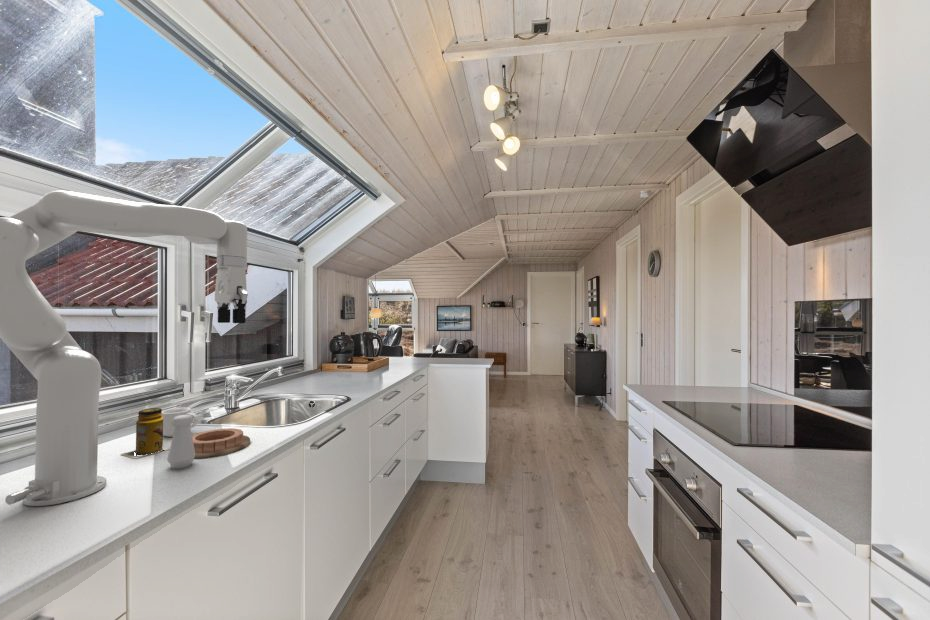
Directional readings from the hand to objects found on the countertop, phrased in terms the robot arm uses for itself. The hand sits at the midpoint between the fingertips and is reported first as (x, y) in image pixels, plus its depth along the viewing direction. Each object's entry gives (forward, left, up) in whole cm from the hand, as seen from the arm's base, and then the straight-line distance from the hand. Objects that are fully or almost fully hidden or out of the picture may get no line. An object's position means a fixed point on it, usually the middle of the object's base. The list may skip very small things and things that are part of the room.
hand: (231, 322), depth 110 cm
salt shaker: (-11, +5, -37) cm, 39 cm away
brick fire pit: (+3, +6, -37) cm, 38 cm away
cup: (+14, +26, -37) cm, 48 cm away
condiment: (-2, +23, -37) cm, 44 cm away
